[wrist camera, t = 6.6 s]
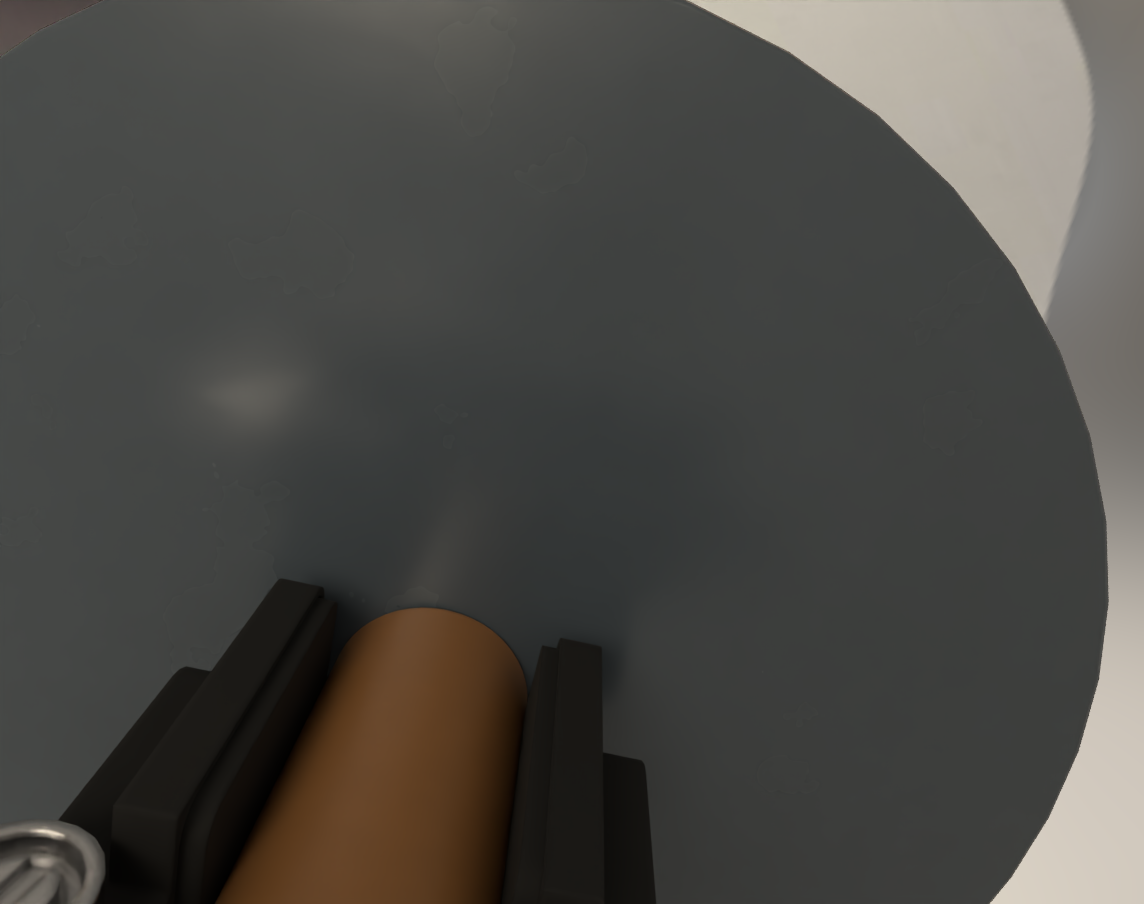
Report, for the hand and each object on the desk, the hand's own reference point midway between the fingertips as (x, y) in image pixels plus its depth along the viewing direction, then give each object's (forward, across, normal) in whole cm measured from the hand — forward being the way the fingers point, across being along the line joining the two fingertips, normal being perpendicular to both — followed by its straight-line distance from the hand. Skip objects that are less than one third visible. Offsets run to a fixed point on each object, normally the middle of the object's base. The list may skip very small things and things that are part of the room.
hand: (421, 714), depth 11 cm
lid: (+1, 0, 0) cm, 1 cm away
